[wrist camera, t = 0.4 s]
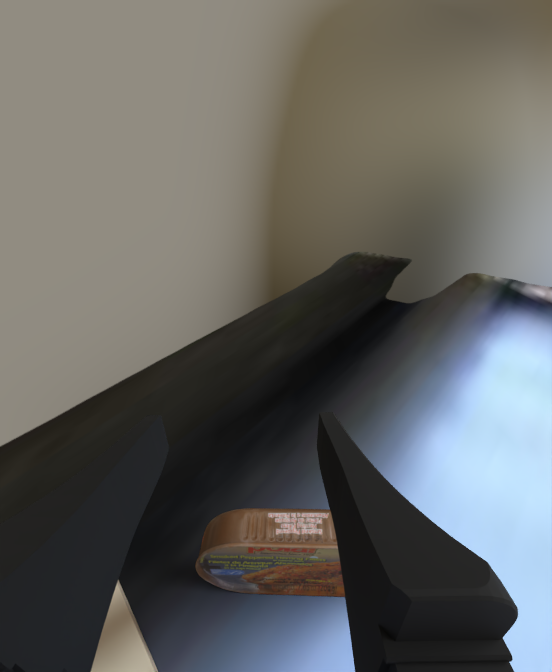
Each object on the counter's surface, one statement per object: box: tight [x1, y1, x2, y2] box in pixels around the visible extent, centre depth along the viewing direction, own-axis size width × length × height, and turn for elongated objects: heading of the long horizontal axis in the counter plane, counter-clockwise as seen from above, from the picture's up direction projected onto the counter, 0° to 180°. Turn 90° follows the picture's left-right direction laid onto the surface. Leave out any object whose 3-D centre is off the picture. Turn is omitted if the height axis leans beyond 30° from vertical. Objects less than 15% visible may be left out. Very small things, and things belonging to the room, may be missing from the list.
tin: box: [195, 508, 345, 597], centre depth 20 cm, size 15×3×8 cm, turn 88°
